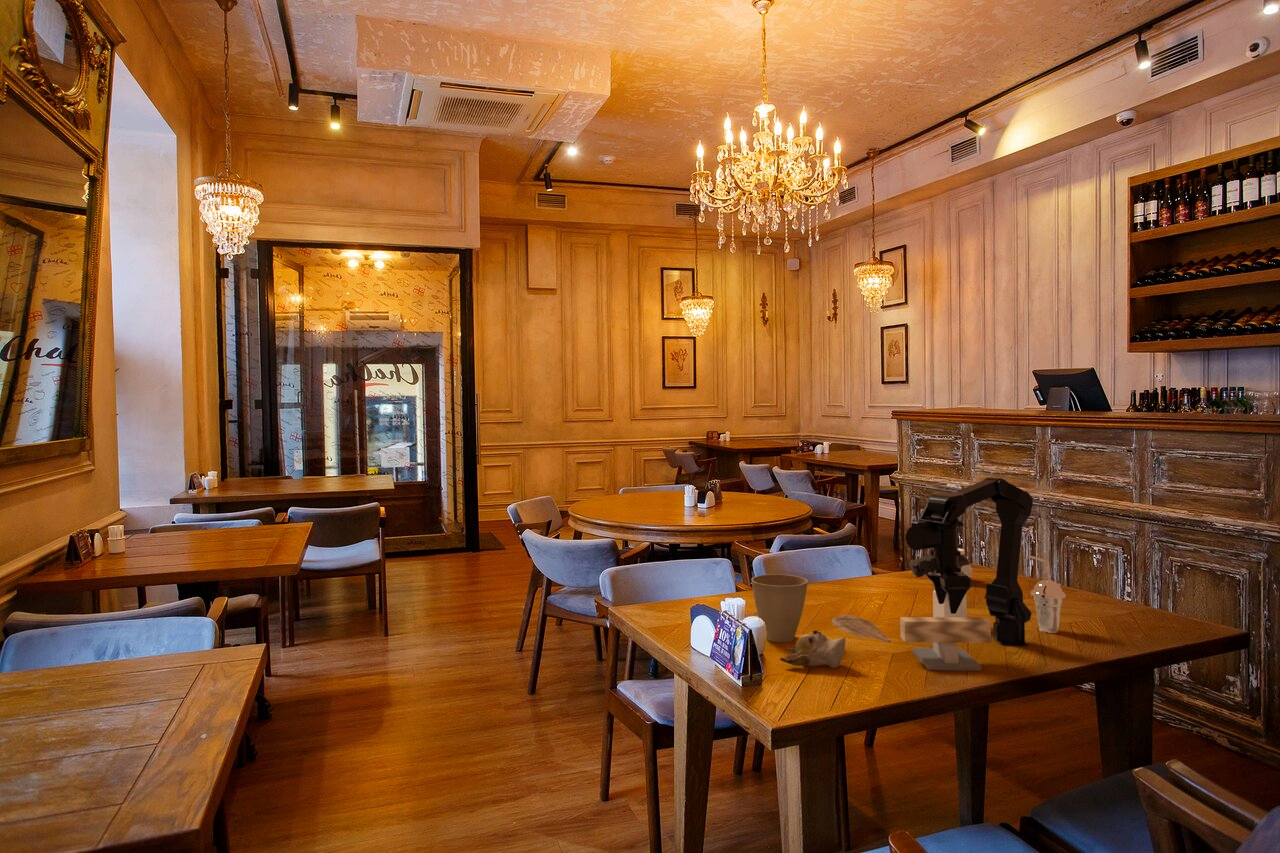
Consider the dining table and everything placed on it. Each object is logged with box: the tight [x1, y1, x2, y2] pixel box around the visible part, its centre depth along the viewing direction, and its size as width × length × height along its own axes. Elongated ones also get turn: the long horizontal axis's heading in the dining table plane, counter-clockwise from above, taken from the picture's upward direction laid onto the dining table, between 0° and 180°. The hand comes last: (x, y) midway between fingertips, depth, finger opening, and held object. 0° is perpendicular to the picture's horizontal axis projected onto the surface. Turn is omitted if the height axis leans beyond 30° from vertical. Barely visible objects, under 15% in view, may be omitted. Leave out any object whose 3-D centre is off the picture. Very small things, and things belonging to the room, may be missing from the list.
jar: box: [932, 589, 968, 617], centre depth 214 cm, size 9×8×12 cm
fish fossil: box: [831, 614, 892, 643], centre depth 210 cm, size 26×10×1 cm, turn 16°
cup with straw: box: [1027, 554, 1067, 634], centre depth 206 cm, size 8×9×20 cm
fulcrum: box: [911, 642, 982, 672], centre depth 183 cm, size 12×14×5 cm
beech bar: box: [899, 616, 992, 644], centre depth 183 cm, size 20×4×5 cm, turn 85°
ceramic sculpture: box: [779, 629, 846, 669], centre depth 181 cm, size 11×9×15 cm
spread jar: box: [956, 547, 973, 579], centre depth 268 cm, size 12×11×12 cm
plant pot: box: [751, 573, 809, 643], centre depth 203 cm, size 15×15×16 cm
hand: (947, 608), depth 187 cm, fingers open, 9 cm apart
